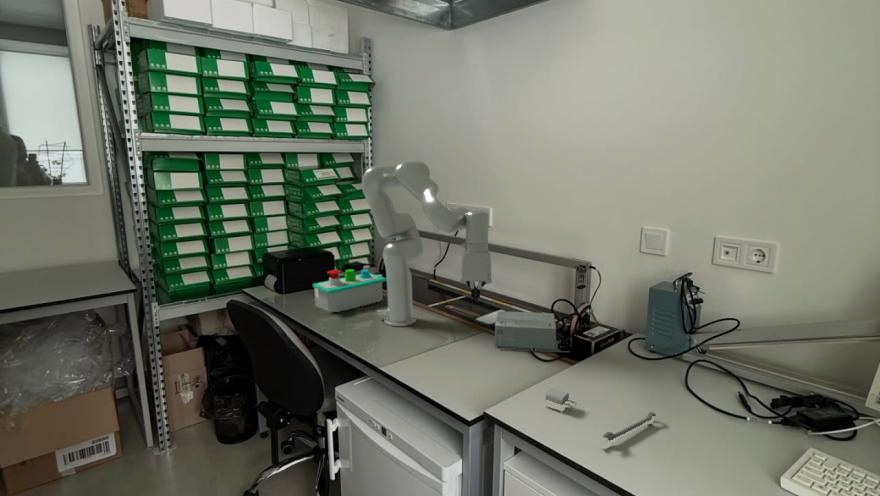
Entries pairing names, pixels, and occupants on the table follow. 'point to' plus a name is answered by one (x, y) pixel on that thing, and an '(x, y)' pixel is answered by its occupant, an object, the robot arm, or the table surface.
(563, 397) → the usb wall charger
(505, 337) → the hard drive box
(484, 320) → the phone case
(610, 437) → the combination wrench
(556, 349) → the mat
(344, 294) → the control panel
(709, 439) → the table surface
